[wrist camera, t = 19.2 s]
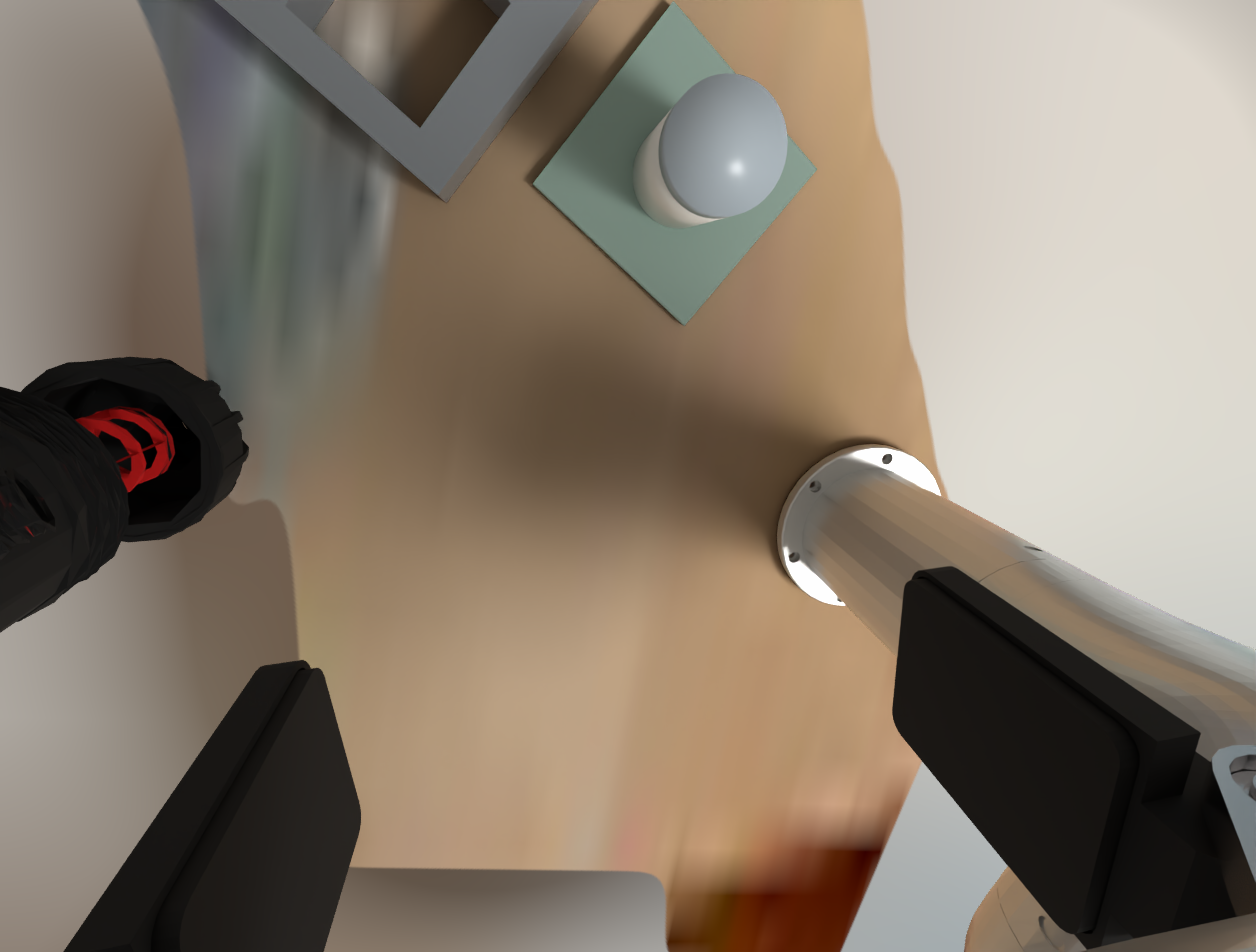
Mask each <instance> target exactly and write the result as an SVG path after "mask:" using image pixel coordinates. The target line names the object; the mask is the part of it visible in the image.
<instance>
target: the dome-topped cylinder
mask: <svg viewBox="0 0 1256 952" xmlns="http://www.w3.org/2000/svg"><path fill="white" fill-rule="evenodd" d="M787 146H788V140H787V130H786V124H785V121H784V117H783V114H782V112H781V110H780V107H779V106H778V104H777V102H776V100H775V99H774V98H773V96H772V95H771V94H770V93H769V92H768V91H767V90H766V89H765V88H764V87H763V86H762V85H761V84H759V83H758V82H756V81H754V80H753V79H751V78H748V77H746V76H743V75H739V74H731V73H724V74H717V75H713V76H710V77H707V78H705V79H703V80H701V81H699V82H698V83H696V84H695V85H693V86H692V87H691V88H690V89H689V90H688V91H687V92H686V93H685V94H684V95H683V96H682V97H681V98H680V100H679V101H678V102H677V103H676V104H675V105H674V107H673V108H672V109H671V110H670V111H669V112H668V114H667V115H666V116H665V117H664V118H663V119H662V120H661V122H660V123H659V124H658V125H657V126H656V127H655V129H654V130H653V131H652V132H651V133H650V134H649V135H648V137H647V138H646V139H645V140H644V142H643V143H642V145H641V146H640V148H639V150H638V152H637V155H636V157H635V161H634V165H633V186H634V191H635V194H636V197H637V200H638V202H639V203H640V205H641V207H642V208H643V210H644V211H645V212H646V213H647V215H648V216H649V217H651V218H652V219H653V220H654V221H656V222H657V223H659V224H661V225H663V226H666V227H669V228H676V229H683V228H689V227H693V226H697V225H700V224H704V223H708V222H712V221H716V220H719V219H723V218H727V217H731V216H734V215H738V214H741V213H744V212H746V211H749V210H751V209H752V208H754V207H755V206H757V205H758V204H760V203H761V202H762V201H763V200H764V199H765V198H766V197H767V196H768V195H769V194H770V193H771V191H772V190H773V189H774V187H775V186H776V184H777V182H778V180H779V179H780V176H781V174H782V171H783V168H784V165H785V161H786V156H787Z"/></svg>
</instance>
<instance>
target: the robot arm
mask: <svg viewBox="0 0 1256 952" xmlns="http://www.w3.org/2000/svg"><path fill="white" fill-rule="evenodd" d="M812 482H813V483H812ZM811 483H812V484H811ZM810 484H811V485H810ZM777 544H778V553H779V556H780V559H781V562H782V565H783V567H784V569H785V570H786V572H787V574H788V575H789V577H790V578H791V579H792V580H793V581H794V582H795V584H796V585H797V586H798V587H799V588H800V589H801V590H802V591H804V592H805V593H806V594H807V595H809V596H810V597H812V598H814V599H816V600H818V601H820V602H824V603H828V604H832V605H838V606H847V607H848V608H849V609H850V610H851V611H852V612H853V613H854V614H855V615H856V616H857V617H858V618H859V619H860V620H861V621H862V622H863V624H864V625H865V626H866V627H867V628H868V629H869V630H870V631H871V632H872V633H873V634H874V635H875V636H876V637H877V638H878V639H879V640H880V641H881V642H882V643H883V644H884V645H885V646H886V647H887V648H888V649H889V650H890V651H891V652H892V653H893V654H894V655H895V656H896V657H897V666H896V677H895V687H894V698H893V708H892V714H893V720H894V723H895V726H896V728H897V730H898V732H899V733H900V734H901V736H902V737H903V738H904V740H905V741H906V742H907V743H908V744H909V746H910V747H911V748H912V749H913V751H914V752H915V753H916V754H917V755H918V757H919V758H920V759H921V760H922V762H923V763H924V764H925V765H926V766H927V767H928V769H929V770H930V771H931V772H932V774H933V775H934V776H935V777H936V779H937V780H938V781H939V782H940V784H941V785H942V786H943V787H944V788H945V789H946V791H947V792H948V793H949V794H950V796H951V797H952V798H953V799H954V801H955V802H956V803H957V804H958V805H959V807H960V808H961V809H962V810H963V812H964V813H965V814H966V815H967V816H968V818H969V819H970V820H971V821H972V823H973V824H974V825H975V826H976V827H977V829H978V830H979V831H980V832H981V833H982V835H983V836H984V837H985V838H986V840H987V841H988V842H989V843H990V845H991V846H992V847H993V848H994V849H995V850H996V852H997V853H998V854H999V855H1000V857H1001V858H1002V859H1003V860H1004V862H1005V863H1006V864H1007V865H1008V867H1007V868H1006V869H1005V871H1004V872H1003V873H1002V874H1001V876H1000V878H999V879H998V880H997V882H996V883H995V884H994V886H993V887H992V888H991V889H990V891H989V892H988V894H987V895H986V897H985V898H984V900H983V901H982V903H981V904H980V906H979V907H978V909H977V911H976V912H975V914H974V916H973V918H972V920H971V923H970V925H969V928H968V931H967V935H966V940H965V949H964V952H1256V649H1253V648H1250V647H1248V646H1245V645H1242V644H1240V643H1237V642H1235V641H1232V640H1229V639H1227V638H1224V637H1222V636H1220V635H1217V634H1215V633H1213V632H1210V631H1208V630H1205V629H1203V628H1201V627H1198V626H1196V625H1193V624H1191V623H1188V622H1186V621H1184V620H1181V619H1179V618H1177V617H1175V616H1173V615H1171V614H1169V613H1167V612H1165V611H1163V610H1161V609H1159V608H1156V607H1154V606H1152V605H1150V604H1148V603H1146V602H1144V601H1142V600H1140V599H1138V598H1136V597H1134V596H1132V595H1129V594H1128V593H1125V592H1124V591H1121V590H1119V589H1117V588H1115V587H1113V586H1111V585H1109V584H1108V583H1106V582H1104V581H1102V580H1100V579H1098V578H1096V577H1094V576H1092V575H1090V574H1088V573H1086V572H1084V571H1082V570H1081V569H1079V568H1077V567H1075V566H1073V565H1071V564H1069V563H1067V562H1065V561H1064V560H1061V559H1060V558H1058V557H1056V556H1054V555H1052V554H1050V553H1048V552H1046V551H1045V550H1043V549H1041V548H1039V547H1037V546H1035V545H1033V544H1031V543H1029V542H1027V541H1025V540H1024V539H1022V538H1020V537H1018V536H1016V535H1014V534H1012V533H1010V532H1008V531H1007V530H1005V529H1002V528H1001V527H999V526H997V525H995V524H993V523H991V522H989V521H988V520H986V519H983V518H982V517H980V516H978V515H976V514H974V513H972V512H971V511H969V510H967V509H965V508H963V507H961V506H959V505H957V504H955V503H953V502H952V501H950V500H948V499H946V498H944V497H942V496H941V495H940V490H939V487H938V485H937V483H936V481H935V479H934V476H933V475H932V474H931V473H930V471H929V470H928V469H927V467H926V466H925V465H924V464H923V463H921V462H920V461H919V460H918V459H916V458H915V457H914V456H912V455H910V454H908V453H906V452H904V451H902V450H899V449H896V448H893V447H890V446H887V445H878V444H865V445H856V446H852V447H849V448H845V449H842V450H839V451H837V452H835V453H833V454H831V455H829V456H827V457H825V458H824V459H822V460H821V461H820V462H818V463H817V464H815V465H814V466H813V467H811V468H810V469H809V470H808V471H807V472H806V473H805V474H804V475H803V476H802V477H801V478H800V479H799V481H798V482H797V484H796V485H795V486H794V488H793V489H792V491H791V492H790V494H789V496H788V498H787V500H786V502H785V504H784V506H783V508H782V512H781V515H780V519H779V522H778V531H777ZM360 824H361V809H360V804H359V800H358V796H357V793H356V789H355V786H354V782H353V778H352V775H351V771H350V767H349V764H348V760H347V757H346V753H345V749H344V746H343V742H342V738H341V735H340V731H339V728H338V724H337V720H336V717H335V713H334V709H333V706H332V702H331V699H330V695H329V691H328V688H327V684H326V680H325V677H324V674H323V672H322V671H321V669H319V668H313V669H311V668H310V666H309V664H308V663H307V662H306V661H304V660H299V661H292V662H286V663H279V664H272V665H265V666H262V667H260V668H259V669H258V670H257V671H256V672H255V673H254V675H253V676H252V678H251V679H250V681H249V682H248V683H247V685H246V686H245V688H244V689H243V691H242V692H241V694H240V695H239V697H238V698H237V700H236V701H235V703H234V704H233V705H232V707H231V708H230V710H229V711H228V713H227V714H226V716H225V717H224V718H223V720H222V721H221V723H220V724H219V726H218V727H217V729H216V730H215V732H214V733H213V735H212V736H211V737H210V739H209V740H208V742H207V743H206V745H205V746H204V748H203V749H202V751H201V752H200V754H199V755H198V756H197V758H196V760H195V761H194V762H193V764H192V765H191V767H190V768H189V770H188V771H187V772H186V774H185V775H184V777H183V778H182V780H181V781H180V783H179V784H178V786H177V787H176V788H175V790H174V791H173V793H172V794H171V796H170V797H169V799H168V800H167V802H166V803H165V804H164V806H163V808H162V809H161V810H160V812H159V813H158V815H157V816H156V818H155V819H154V820H153V822H152V823H151V825H150V826H149V828H148V829H147V831H146V832H145V834H144V835H143V837H142V838H141V840H140V841H139V842H138V844H137V845H136V847H135V848H134V850H133V851H132V853H131V854H130V855H129V857H128V858H127V860H126V861H125V863H124V864H123V866H122V867H121V869H120V870H119V872H118V873H117V875H116V876H115V877H114V879H113V880H112V882H111V883H110V885H109V886H108V888H107V889H106V891H105V892H104V894H103V895H102V896H101V898H100V899H99V901H98V902H97V904H96V905H95V906H94V908H93V909H92V911H91V912H90V914H89V915H88V917H87V918H86V920H85V921H84V923H83V924H82V925H81V927H80V928H79V930H78V932H77V933H76V934H75V936H74V937H73V939H72V940H71V942H70V943H69V944H68V946H67V947H66V949H65V950H64V952H323V951H324V948H325V945H326V942H327V938H328V935H329V932H330V928H331V925H332V922H333V918H334V915H335V912H336V908H337V905H338V901H339V898H340V895H341V892H342V888H343V885H344V882H345V878H346V875H347V872H348V868H349V865H350V862H351V858H352V855H353V852H354V848H355V845H356V842H357V838H358V835H359V831H360Z"/></svg>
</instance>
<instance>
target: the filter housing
mask: <svg viewBox="0 0 1256 952" xmlns="http://www.w3.org/2000/svg"><path fill="white" fill-rule="evenodd" d="M215 1H216V2H217V3H218V4H219V5H220V6H221V7H222V8H224V9H225V10H226V11H227V12H228V13H229V14H230V15H231V16H233V17H234V18H235V19H236V20H237V21H238V22H239V23H240V24H242V25H243V26H244V27H245V28H246V29H247V30H248V31H249V32H251V33H252V34H253V35H254V36H255V37H256V38H258V39H259V40H260V41H261V42H262V43H263V44H264V45H266V46H267V47H268V48H269V49H270V50H271V51H272V52H274V53H275V54H276V55H277V56H278V57H279V58H280V59H282V60H283V61H284V62H285V63H286V64H287V65H288V66H290V67H291V68H292V69H293V70H294V71H295V72H296V73H298V74H299V75H300V76H301V77H302V78H303V79H305V80H306V81H307V82H308V83H309V84H310V85H311V86H313V87H314V88H315V89H316V90H317V91H318V92H319V93H321V94H322V95H323V96H324V97H325V98H326V99H327V100H329V101H330V102H331V103H332V104H333V105H334V106H335V107H337V108H338V109H339V110H340V111H341V112H342V113H343V114H345V115H346V116H347V117H348V118H349V119H350V120H352V121H353V122H354V123H355V124H356V125H357V126H358V127H360V128H361V129H362V130H363V131H364V132H365V133H366V134H368V135H369V136H370V137H371V138H372V139H373V140H374V141H376V142H377V143H378V144H379V145H380V146H381V147H382V148H384V149H385V150H386V151H387V152H388V153H389V154H391V155H392V156H393V157H394V158H395V159H396V160H397V161H399V162H400V163H401V164H402V165H403V166H404V167H405V168H407V169H408V170H409V171H410V172H411V173H412V174H413V175H415V176H416V177H417V178H418V179H419V180H420V181H421V182H423V183H424V184H425V185H426V186H427V187H428V188H429V189H431V190H432V191H433V192H434V193H435V194H436V195H438V196H439V197H440V198H441V199H442V200H443V201H444V202H446V203H447V202H448V200H449V199H450V198H451V196H452V195H453V194H454V192H455V191H456V190H457V188H458V187H459V186H460V184H461V183H462V182H463V180H464V179H465V178H466V176H467V175H468V174H469V172H470V171H471V170H472V168H473V167H474V166H475V164H476V163H477V162H478V160H479V159H480V158H481V156H482V155H483V154H484V152H485V151H486V150H487V148H488V147H489V146H490V144H491V143H492V142H493V140H494V139H495V138H496V136H497V135H498V134H499V132H500V131H501V130H502V128H503V127H504V126H505V124H506V123H507V122H508V120H509V119H510V118H511V116H512V115H513V114H514V112H515V111H516V110H517V108H518V107H519V106H520V104H521V103H522V102H523V100H524V99H525V98H526V96H527V95H528V94H529V92H530V91H531V90H532V88H533V87H534V86H535V84H536V83H537V82H538V80H539V79H540V78H541V76H542V75H543V74H544V72H545V71H546V70H547V68H548V67H549V66H550V64H551V63H552V62H553V60H554V59H555V58H556V56H557V55H558V54H559V52H560V51H561V50H562V48H563V47H564V46H565V44H566V43H567V42H568V40H569V39H570V38H571V36H572V35H573V34H574V32H575V31H576V30H577V28H578V27H579V26H580V24H581V23H582V22H583V20H584V19H585V18H586V16H587V15H588V14H589V12H590V11H591V10H592V8H593V7H594V6H595V4H596V3H597V2H598V0H482V1H483V2H484V3H485V4H486V5H487V6H488V7H489V8H490V9H491V10H492V11H493V12H494V13H495V14H496V15H497V16H498V17H499V18H500V19H499V20H498V22H497V23H496V24H495V26H494V27H493V28H492V30H491V31H490V33H489V34H488V35H487V37H486V38H485V39H484V41H483V42H482V44H481V45H480V46H479V48H478V49H477V50H476V52H475V53H474V55H473V56H472V57H471V59H470V60H469V61H468V63H467V64H466V66H465V67H464V68H463V70H462V71H461V72H460V74H459V75H458V77H457V78H456V79H455V81H454V82H453V83H452V85H451V86H450V88H449V89H448V90H447V92H446V93H445V94H444V96H443V97H442V99H441V100H440V101H439V103H438V104H437V105H436V107H435V108H434V110H433V111H432V112H431V114H430V115H429V116H428V118H427V119H426V121H425V122H424V123H423V125H422V126H421V127H420V128H419V127H418V126H417V125H416V124H415V123H414V122H413V121H412V120H410V119H409V118H408V117H407V116H406V115H405V114H404V113H403V112H402V111H401V110H399V109H398V108H397V107H396V106H395V105H394V104H393V103H392V102H391V101H389V100H388V99H387V98H386V97H385V96H384V95H383V94H382V93H381V92H380V91H378V90H377V89H376V88H375V87H374V86H373V85H372V84H371V83H370V82H368V81H367V80H366V79H365V78H364V77H363V76H362V75H361V74H360V73H359V72H357V71H356V70H355V69H354V68H353V67H352V66H351V65H350V64H349V63H347V62H346V61H345V60H344V59H343V58H342V57H341V56H340V55H339V54H338V53H336V52H335V51H334V50H333V49H332V48H331V47H330V46H329V45H328V44H326V43H325V42H324V41H323V40H322V39H321V38H320V37H319V36H318V35H317V34H315V33H314V32H313V31H314V29H315V28H316V26H317V25H318V23H319V22H320V21H321V19H322V18H323V16H324V15H325V13H326V12H327V10H328V9H329V7H330V6H331V4H332V3H333V1H334V0H215Z"/></svg>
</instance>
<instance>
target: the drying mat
mask: <svg viewBox="0 0 1256 952" xmlns="http://www.w3.org/2000/svg"><path fill="white" fill-rule="evenodd" d="M724 73H731V74H735V72H734V71H733V70H732V69H731V68H730V66H729V65H728V64H727V63H726V62H725V61H724V59H723V58H722V57H721V56H720V55H719V54H718V52H717V51H716V50H715V49H714V48H713V47H712V45H711V44H710V43H709V42H708V41H707V40H706V38H705V37H704V36H703V35H702V34H701V33H700V31H699V30H698V29H697V28H696V27H695V26H694V24H693V23H692V22H691V21H690V20H689V18H688V17H687V16H686V15H685V14H684V13H683V11H682V10H681V9H680V8H679V7H678V6H677V4H676V3H675V2H674V1H673V2H672V4H671V5H670V6H669V7H668V9H667V10H666V11H665V13H664V14H663V15H662V17H661V18H660V19H659V20H658V22H657V23H656V24H655V26H654V27H653V28H652V30H651V31H650V32H649V33H648V35H647V36H646V37H645V39H644V40H643V41H642V43H641V44H640V45H639V46H638V48H637V49H636V50H635V52H634V53H633V54H632V55H631V57H630V58H629V59H628V61H627V62H626V63H625V65H624V66H623V67H622V68H621V70H620V71H619V72H618V74H617V75H616V76H615V78H614V79H613V80H612V81H611V83H610V84H609V85H608V87H607V88H606V89H605V91H604V92H603V93H602V94H601V96H600V97H599V98H598V100H597V101H596V102H595V104H594V105H593V106H592V107H591V109H590V110H589V111H588V113H587V114H586V115H585V116H584V118H583V119H582V120H581V122H580V123H579V124H578V126H577V127H576V128H575V129H574V131H573V132H572V133H571V135H570V136H569V137H568V139H567V140H566V141H565V142H564V144H563V145H562V146H561V148H560V149H559V150H558V152H557V153H556V154H555V155H554V157H553V158H552V159H551V161H550V162H549V163H548V164H547V166H546V167H545V168H544V170H543V171H542V172H541V174H540V175H539V176H538V177H537V179H536V180H535V181H534V183H533V186H534V187H535V188H537V189H538V190H539V191H540V192H541V193H542V194H543V195H544V196H545V197H546V198H547V199H548V200H549V201H550V202H552V203H553V204H554V205H555V206H556V207H557V208H558V209H559V210H560V211H561V212H562V213H563V214H564V215H565V216H566V217H568V218H569V219H570V220H571V221H572V222H573V223H574V224H575V225H576V226H577V227H578V228H579V229H580V230H581V231H583V232H584V233H585V234H586V235H587V236H588V237H589V238H590V239H591V240H592V241H593V242H594V243H595V244H596V245H598V246H599V247H600V248H601V249H602V250H603V251H604V252H605V253H606V254H607V255H608V256H609V257H610V258H611V259H612V260H614V261H615V262H616V263H617V264H618V265H619V266H620V267H621V268H622V269H623V270H624V271H625V272H626V273H627V274H629V275H630V276H631V277H632V278H633V279H634V280H635V281H636V282H637V283H638V284H639V285H640V286H641V287H642V288H643V289H645V290H646V291H647V292H648V293H649V294H650V295H651V296H652V297H653V298H654V299H655V300H656V301H657V302H658V303H660V304H661V305H662V306H663V307H664V308H665V309H666V310H667V311H668V312H669V313H670V314H671V315H672V316H673V317H674V318H676V319H677V320H678V321H679V322H680V323H681V324H682V325H684V326H685V325H686V324H687V322H688V321H689V320H690V319H691V318H692V316H693V315H694V314H695V313H696V312H697V311H698V309H699V308H700V307H701V306H702V305H703V303H704V302H705V301H706V300H707V299H708V298H709V296H710V295H711V294H712V293H713V292H714V290H715V289H716V288H717V287H718V286H719V285H720V283H721V282H722V281H723V280H724V279H725V278H726V276H727V275H728V274H729V273H730V272H731V270H732V269H733V268H734V267H735V266H736V265H737V263H738V262H739V261H740V260H741V259H742V257H743V256H744V255H745V254H746V253H747V252H748V250H749V249H750V248H751V247H752V246H753V244H754V243H755V242H756V241H757V240H758V239H759V237H760V236H761V235H762V234H763V233H764V231H765V230H766V229H767V228H768V227H769V226H770V224H771V223H772V222H773V221H774V220H775V219H776V217H777V216H778V215H779V214H780V213H781V211H782V210H783V209H784V208H785V207H786V206H787V204H788V203H789V202H790V201H791V200H792V198H793V197H794V196H795V195H796V194H797V193H798V191H799V190H800V189H801V188H802V187H803V185H804V184H805V183H806V182H807V181H808V180H809V178H810V177H811V176H812V175H813V174H814V172H815V171H816V170H817V168H816V167H815V166H814V165H813V164H812V163H811V161H810V160H809V159H808V158H807V157H806V155H805V154H804V153H803V152H802V151H801V150H800V148H799V147H798V146H797V145H796V144H795V143H794V141H793V140H792V139H791V138H790V137H789V136H788V134H787V140H788V146H787V156H786V161H785V165H784V168H783V171H782V174H781V176H780V179H779V180H778V182H777V184H776V186H775V187H774V189H773V190H772V191H771V193H770V194H769V195H768V196H767V197H766V198H765V199H764V200H763V201H762V202H761V203H760V204H758V205H757V206H755V207H754V208H752V209H751V210H749V211H746V212H744V213H741V214H738V215H734V216H731V217H727V218H723V219H719V220H716V221H712V222H708V223H704V224H700V225H697V226H693V227H689V228H683V229H676V228H669V227H666V226H663V225H661V224H659V223H657V222H656V221H654V220H653V219H652V218H651V217H649V216H648V215H647V213H646V212H645V211H644V210H643V208H642V207H641V205H640V203H639V202H638V200H637V197H636V194H635V191H634V186H633V165H634V161H635V157H636V155H637V152H638V150H639V148H640V146H641V145H642V143H643V142H644V140H645V139H646V138H647V137H648V135H649V134H650V133H651V132H652V131H653V130H654V129H655V127H656V126H657V125H658V124H659V123H660V122H661V120H662V119H663V118H664V117H665V116H666V115H667V114H668V112H669V111H670V110H671V109H672V108H673V107H674V105H675V104H676V103H677V102H678V101H679V100H680V98H681V97H682V96H683V95H684V94H685V93H686V92H687V91H688V90H689V89H690V88H691V87H692V86H693V85H695V84H696V83H698V82H699V81H701V80H703V79H705V78H707V77H710V76H713V75H717V74H724Z"/></svg>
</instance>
